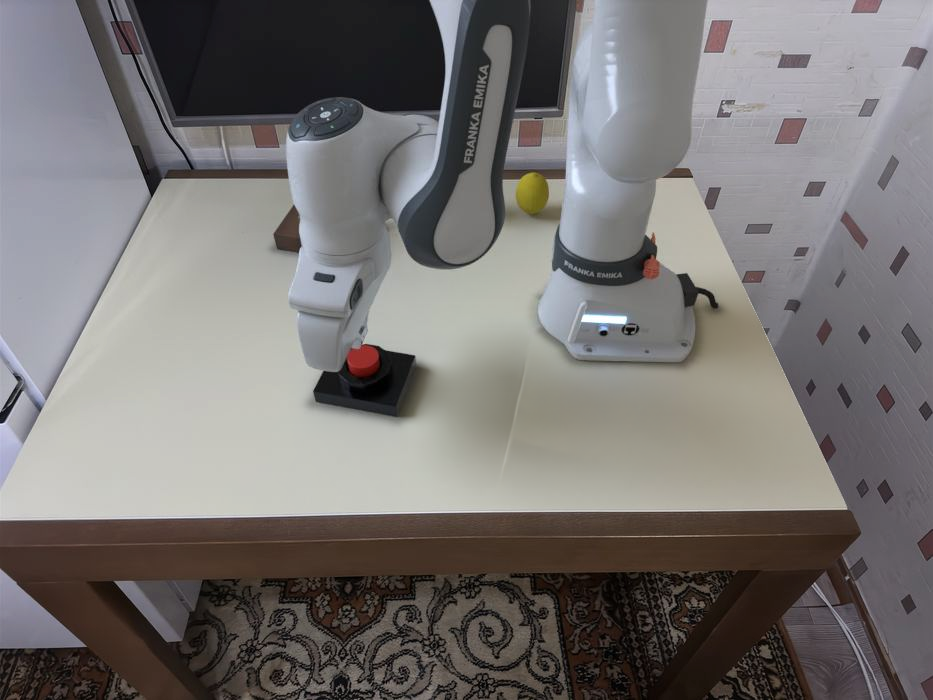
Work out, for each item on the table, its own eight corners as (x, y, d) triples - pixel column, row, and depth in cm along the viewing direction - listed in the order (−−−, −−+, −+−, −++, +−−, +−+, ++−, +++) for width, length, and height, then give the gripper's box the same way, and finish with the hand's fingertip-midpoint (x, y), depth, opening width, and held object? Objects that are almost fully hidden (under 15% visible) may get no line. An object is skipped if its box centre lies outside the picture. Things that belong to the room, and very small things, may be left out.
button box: (416, 366, 92) (414, 345, 89) (397, 417, 86) (394, 397, 83) (339, 352, 93) (335, 332, 90) (315, 402, 87) (310, 382, 84)
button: (383, 357, 88) (382, 347, 87) (374, 379, 85) (372, 370, 84) (354, 352, 88) (353, 342, 87) (344, 374, 86) (342, 365, 84)
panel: (372, 224, 114) (370, 208, 111) (352, 260, 107) (350, 244, 105) (300, 213, 116) (297, 198, 113) (276, 249, 109) (272, 233, 107)
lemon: (549, 207, 117) (554, 167, 111) (542, 225, 114) (546, 184, 108) (519, 202, 118) (521, 161, 112) (510, 219, 115) (513, 179, 109)
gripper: (349, 194, 81) (360, 282, 91) (280, 308, 67) (302, 396, 77) (400, 202, 80) (405, 290, 90) (340, 318, 66) (354, 407, 76)
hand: (357, 340), depth 83 cm, fingers closed
